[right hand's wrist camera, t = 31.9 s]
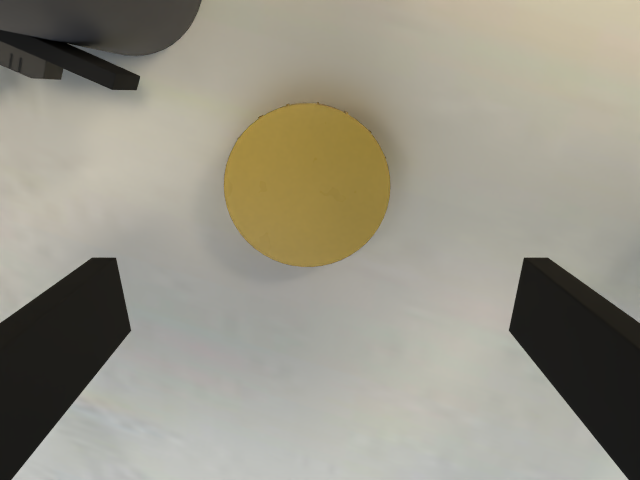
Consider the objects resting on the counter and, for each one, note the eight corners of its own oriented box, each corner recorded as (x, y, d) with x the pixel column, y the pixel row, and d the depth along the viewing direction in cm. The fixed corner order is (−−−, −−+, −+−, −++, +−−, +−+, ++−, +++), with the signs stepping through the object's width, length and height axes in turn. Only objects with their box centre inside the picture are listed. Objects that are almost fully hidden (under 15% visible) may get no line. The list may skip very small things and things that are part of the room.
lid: (207, 216, 28) (198, 227, 26) (270, 70, 24) (266, 68, 22) (337, 276, 30) (340, 291, 28) (413, 149, 27) (422, 154, 24)
